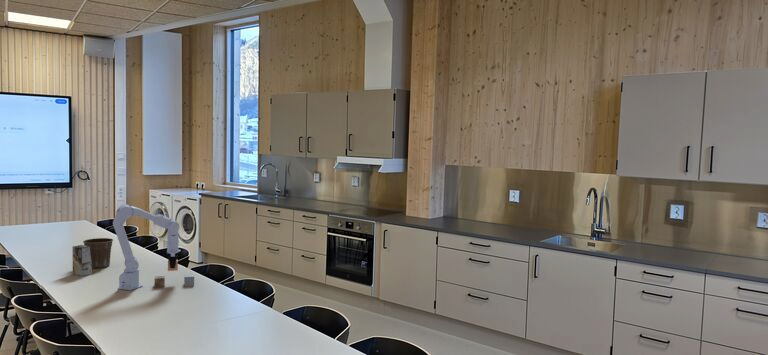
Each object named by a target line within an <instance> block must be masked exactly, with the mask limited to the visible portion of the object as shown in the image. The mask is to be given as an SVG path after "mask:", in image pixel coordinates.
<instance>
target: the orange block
mask: <svg viewBox="0 0 768 355" xmlns="http://www.w3.org/2000/svg"><path fill="white" fill-rule="evenodd" d="M178 263H179V260H178V258H177V260H176V265H175V268H170V262H169V259H168V260H167V271H168V272H170V271H171V272H173V271H176V272H178V271H179V270H178V268H179V267H178V266H179V264H178Z"/></svg>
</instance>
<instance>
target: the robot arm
mask: <svg viewBox="0 0 768 355" xmlns="http://www.w3.org/2000/svg"><path fill="white" fill-rule="evenodd" d="M131 217H133V218H134V217H142V218H143V219H144V218H145V219H146V220H149V221H152V223H153V225H155V226H158V227H161V228H163V229H167V237H166V238H167V240H166V242H167V243H166V244H167V246H166V247H167V248H166V249H167V250H166V254H167V255H166V256H167V259H168V260H169V262H170V268H175V265H176V260H177V259H178V258H179V253H180V252H181V249H179V236H180V235H179V230H180V229H181V228H180V224H179V223H178V221H176V220H175V219H173V218H171V217H170V218H169V217H166V216H165V215H164V214H160V213H159V214H152V212H151V213H150V212H148V211H146V210H143V209H141V208H140V207H139V208H138V207H136V206H133V205H130V204H126V203H125V204H121V205H120V206H119V207H118V208H117V210H116V211H115V215H114V219H113V221H112V226H113V228H114V231H115V234H116V238H117V240H118V243H119V246H120V249H121V251H122V254H123V258H124V266H125V268H124V269H123V272H122V273H121V274H119V277H118V278H119V279H118V287H117V289H118V290H125V291H132V290H135V289H138V288H143V284H140V269H139V265H140V264H139V262H138V259H137V258H136V257H135V256H134V254H133V250H132V247H131V243H130V241H129V238H128V236H127V232H126V230H125V226H124V224H125V223H126V221H127V220H128V219H130V218H131Z"/></svg>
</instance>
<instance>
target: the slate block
mask: <svg viewBox="0 0 768 355" xmlns="http://www.w3.org/2000/svg"><path fill="white" fill-rule="evenodd" d="M183 278H184V280H183V281H184V282H183V283H184V287H187V286H188V287H190V286H193V287H194V286H195V274H184V276H183Z"/></svg>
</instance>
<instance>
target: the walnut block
mask: <svg viewBox="0 0 768 355" xmlns="http://www.w3.org/2000/svg"><path fill="white" fill-rule="evenodd" d="M165 278H166V277H165V275H159V276H157V275H156V276H154V286H153V288H154V289H155V288H157V289H158V288H165V287H166V284H165V282H166V281H165V280H166V279H165Z"/></svg>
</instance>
